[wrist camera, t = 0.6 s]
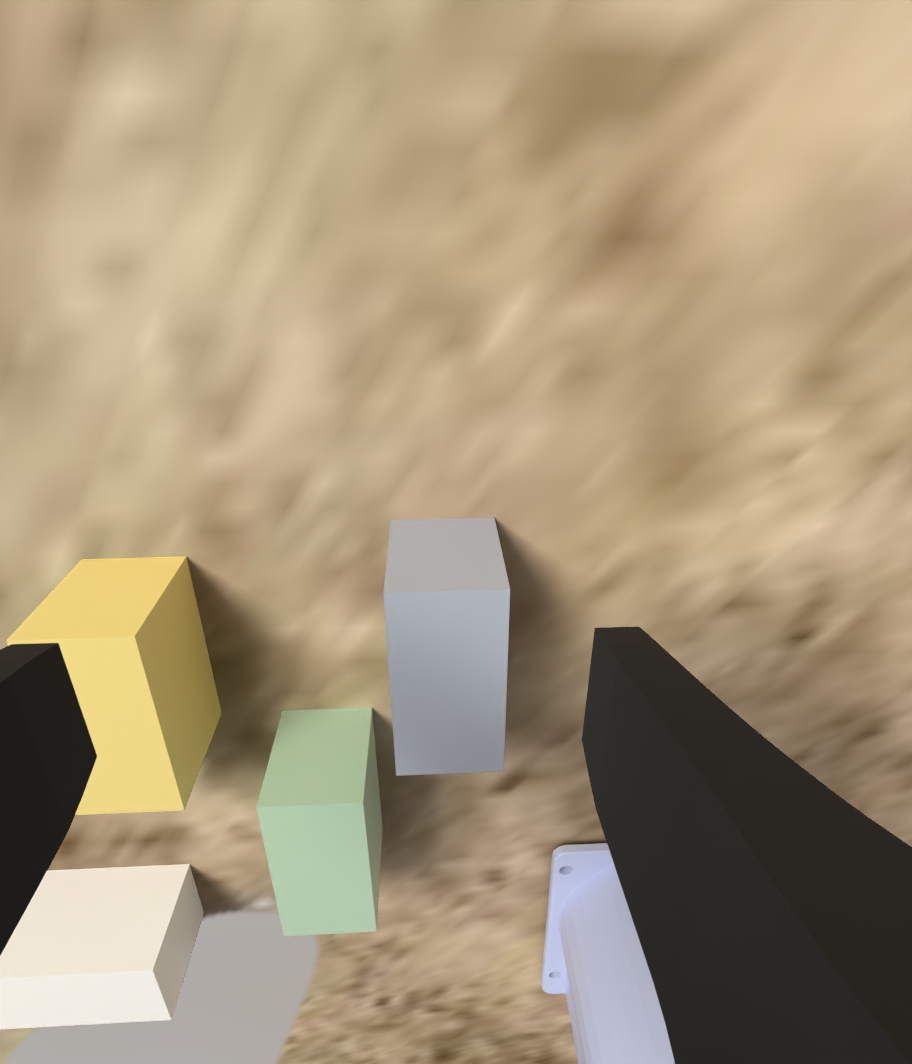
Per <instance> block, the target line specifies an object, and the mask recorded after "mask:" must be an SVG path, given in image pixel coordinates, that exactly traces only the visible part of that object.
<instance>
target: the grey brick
mask: <svg viewBox="0 0 912 1064" xmlns="http://www.w3.org/2000/svg"><path fill="white" fill-rule="evenodd" d="M383 594H384V608H385V622H386V637H387V651H388V666H389V680H390V694H391V709H392V723H393V737H394V752H395V766H396V776H403V775H427V774H452V773H476V772H501V771H504V751H505V723H506V694H507V666H508V638H509V609H510V586H509V582H508V577H507V572H506V568H505V563H504V559H503V554H502V550H501V545H500V541H499V536H498V531H497V527H496V522H495V518H494V517H484V518H447V519H410V520H391V522H390V532H389V542H388V552H387V562H386V573H385V583H384V593H383Z"/></svg>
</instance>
